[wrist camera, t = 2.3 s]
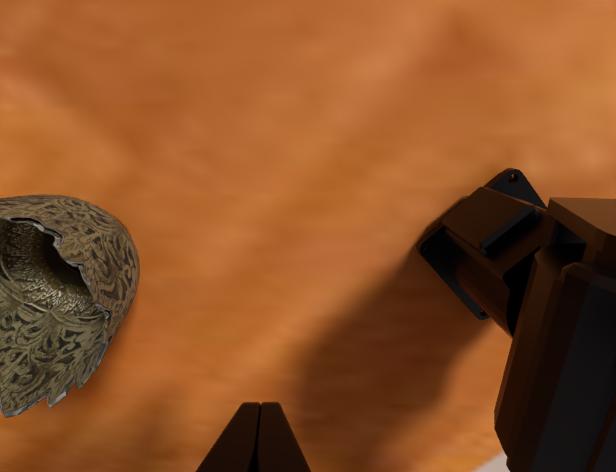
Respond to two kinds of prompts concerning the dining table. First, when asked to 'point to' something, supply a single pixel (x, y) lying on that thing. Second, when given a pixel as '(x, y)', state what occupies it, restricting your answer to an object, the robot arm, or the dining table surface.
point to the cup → (59, 295)
